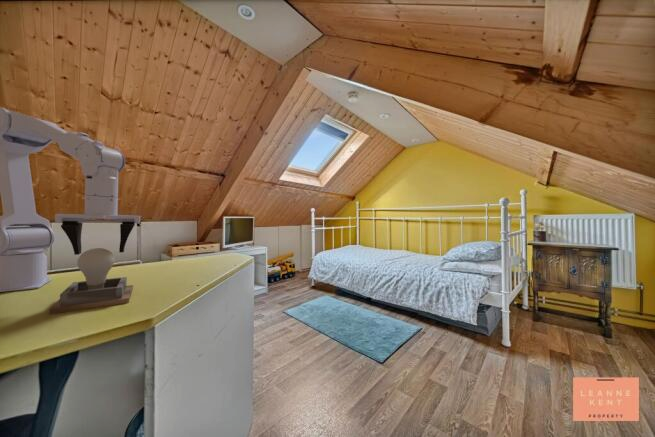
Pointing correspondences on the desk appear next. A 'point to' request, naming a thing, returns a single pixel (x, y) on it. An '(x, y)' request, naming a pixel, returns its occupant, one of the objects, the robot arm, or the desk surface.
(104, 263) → the lightbulb
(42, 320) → the desk surface
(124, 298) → the socket base
